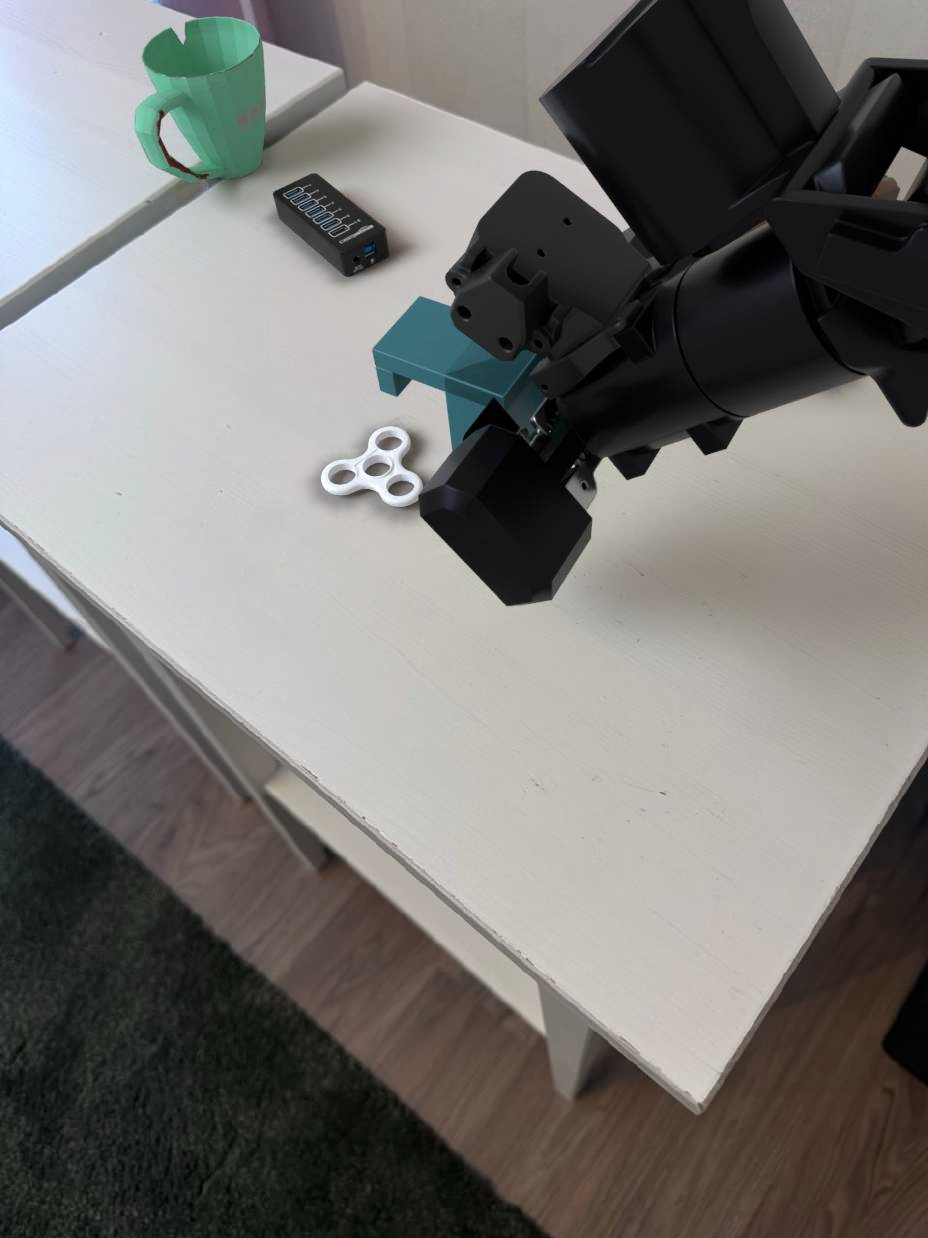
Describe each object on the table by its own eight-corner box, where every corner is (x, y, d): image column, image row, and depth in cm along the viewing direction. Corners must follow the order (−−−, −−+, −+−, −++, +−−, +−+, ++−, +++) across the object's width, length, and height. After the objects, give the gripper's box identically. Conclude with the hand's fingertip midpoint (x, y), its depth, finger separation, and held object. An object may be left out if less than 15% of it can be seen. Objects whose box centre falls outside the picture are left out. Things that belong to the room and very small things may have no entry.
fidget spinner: (392, 425, 63) (391, 417, 62) (455, 474, 60) (454, 466, 59) (314, 481, 60) (311, 473, 60) (375, 534, 58) (373, 526, 57)
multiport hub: (320, 195, 78) (314, 170, 76) (391, 254, 73) (387, 228, 71) (276, 216, 77) (270, 191, 75) (346, 277, 72) (341, 252, 70)
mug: (218, 125, 85) (183, 9, 77) (308, 142, 83) (282, 23, 74) (131, 215, 79) (82, 99, 70) (226, 236, 76) (187, 118, 68)
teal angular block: (547, 524, 50) (549, 338, 39) (512, 577, 48) (504, 397, 37) (445, 482, 52) (419, 294, 41) (407, 531, 50) (370, 348, 39)
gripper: (708, 7, 33) (467, 210, 46) (438, 317, 25) (239, 456, 38) (860, 255, 37) (600, 377, 50) (671, 590, 29) (419, 631, 42)
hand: (478, 448), depth 44 cm, fingers closed on teal angular block, 4 cm apart
